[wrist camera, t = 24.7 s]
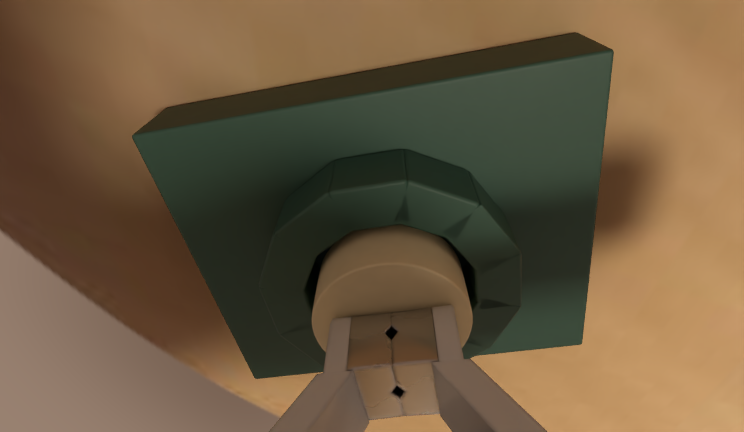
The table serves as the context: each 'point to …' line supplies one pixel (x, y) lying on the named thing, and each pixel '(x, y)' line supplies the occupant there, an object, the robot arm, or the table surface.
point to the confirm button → (389, 278)
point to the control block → (396, 189)
